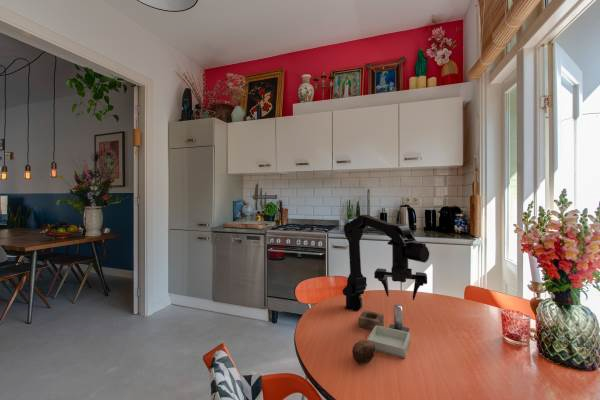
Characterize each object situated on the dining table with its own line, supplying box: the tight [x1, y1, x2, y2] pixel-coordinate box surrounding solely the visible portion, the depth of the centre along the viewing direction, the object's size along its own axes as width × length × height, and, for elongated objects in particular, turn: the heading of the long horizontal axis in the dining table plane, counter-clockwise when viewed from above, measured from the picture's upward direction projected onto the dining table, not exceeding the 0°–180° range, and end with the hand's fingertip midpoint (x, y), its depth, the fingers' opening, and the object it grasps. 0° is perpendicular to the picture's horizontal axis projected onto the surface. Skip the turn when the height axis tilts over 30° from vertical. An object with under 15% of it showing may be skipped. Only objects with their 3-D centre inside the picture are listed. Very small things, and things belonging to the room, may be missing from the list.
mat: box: [388, 323, 410, 333], centre depth 103 cm, size 7×7×1 cm
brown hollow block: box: [357, 310, 385, 332], centre depth 107 cm, size 8×8×4 cm
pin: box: [393, 304, 403, 331], centre depth 103 cm, size 3×3×9 cm
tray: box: [366, 325, 411, 359], centre depth 93 cm, size 12×12×3 cm
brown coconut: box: [351, 339, 376, 365], centre depth 84 cm, size 8×8×6 cm
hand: (400, 298), depth 104 cm, fingers open, 9 cm apart
